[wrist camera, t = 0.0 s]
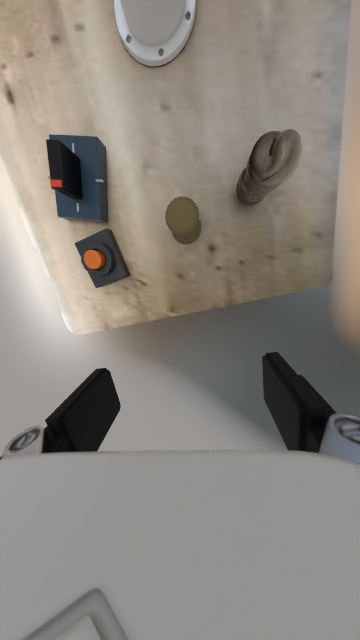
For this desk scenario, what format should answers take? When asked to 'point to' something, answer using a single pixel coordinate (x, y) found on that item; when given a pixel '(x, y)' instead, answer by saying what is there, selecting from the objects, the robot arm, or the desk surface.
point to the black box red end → (64, 169)
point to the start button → (94, 259)
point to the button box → (113, 258)
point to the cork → (183, 220)
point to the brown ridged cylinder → (269, 165)
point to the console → (86, 181)
